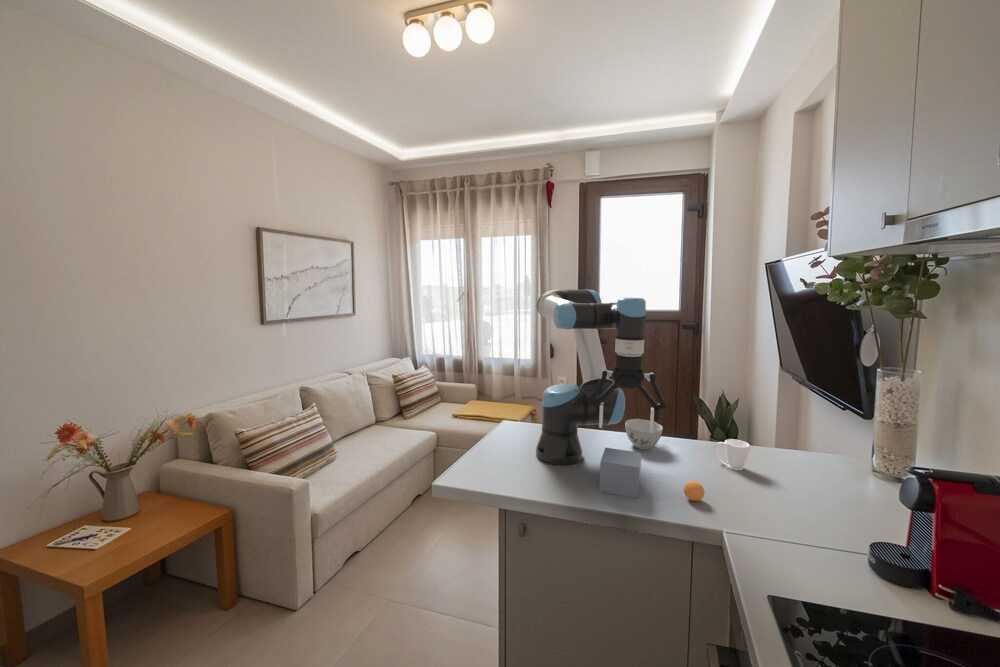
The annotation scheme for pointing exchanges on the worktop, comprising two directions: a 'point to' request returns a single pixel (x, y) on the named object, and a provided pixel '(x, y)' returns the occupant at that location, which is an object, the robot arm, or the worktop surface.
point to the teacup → (642, 433)
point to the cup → (734, 453)
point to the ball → (694, 491)
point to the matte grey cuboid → (620, 472)
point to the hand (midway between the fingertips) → (625, 429)
